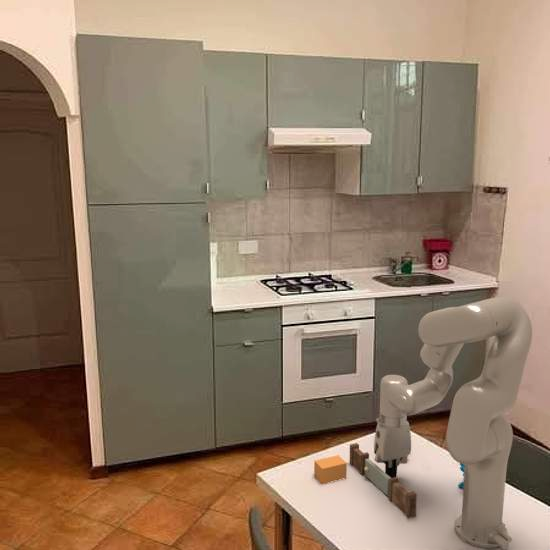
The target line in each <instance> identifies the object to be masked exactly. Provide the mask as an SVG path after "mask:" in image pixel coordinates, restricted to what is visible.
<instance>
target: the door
mask: <svg viewBox="0 0 550 550" xmlns="http://www.w3.org/2000/svg"><path fill="white" fill-rule="evenodd" d="M364 470H365V475H364V476H366V478H367V479H368V480H370V481H371V482H372V483H373V484H374V485H375V486H376V487H377V488H378V489H380V491H381V492H383V493H384V494H385V495H386V496H388V497H389V479H390V478H391V477H389V476H388V475H387V474H386V473H385V470H383V469H381V468H380V467H379V466H378V465H377V464H376V463H375V462H373V461H372V460H371V459H370V457H369V458H368V459H365V468H364Z"/></svg>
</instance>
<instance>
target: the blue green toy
mask: <svg viewBox="0 0 550 550" xmlns="http://www.w3.org/2000/svg"><path fill="white" fill-rule="evenodd" d="M459 466H460V467H459V470H460V471H461V472H462V477H463V478H462V479H463V481H462V482H460V483H459V484H458V485H457V486H458V487H459V489H461V488H463V487H464V472H465V464H461V463H459Z"/></svg>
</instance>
